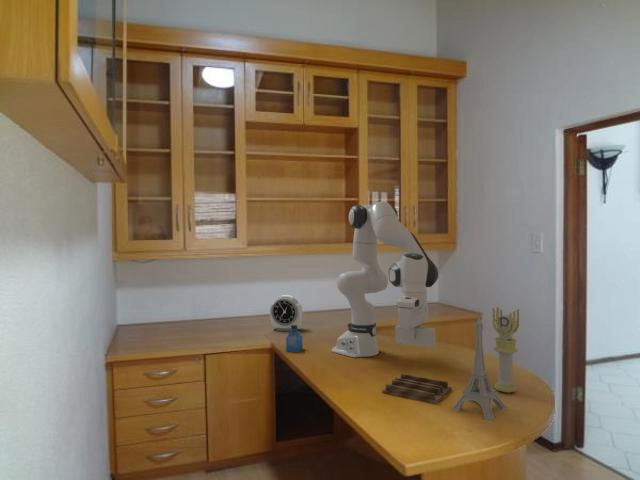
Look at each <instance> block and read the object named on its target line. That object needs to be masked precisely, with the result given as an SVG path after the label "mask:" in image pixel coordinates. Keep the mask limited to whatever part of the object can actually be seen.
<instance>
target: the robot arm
mask: <svg viewBox="0 0 640 480" xmlns="http://www.w3.org/2000/svg"><path fill="white" fill-rule="evenodd" d="M348 222H349V225H350V226H351V227H352V228H353V229H354V234H353V238H352V239H353V244H352V257H353V259H354V260H355V262H357V263H359V264H360V265H361V270H353V271H352V270H350V271H345V272H343V273H340V275H338V276H337V280H336V286H337V289H338V291H339V293H341V294H342V295H344V296H345V298H346V299H347V300H348V303H349V306H350V313H351V317H350V318H351V322H349V323H348V324H347V325H346V328H348V329H347V330H346V331H345V332H343V334H341V335H340V336H338V338H337V340H336V345H335V346H334V347H331V352H332V353H335V354H340V355H343V356H348V357H351V358H362V357H365V358H366V357H373V356H377V355H378V354H379V349H378V344H377V337H376V335H377V334H376V333H377V323H376V308H375V306H374V305H373V303H371V302H370V301H368V300H367V299H366V296H365V295H366V294H376V293H380V292H383V291H385V290H386V289H387V287H388V285H389V283H390V284H392V286H393V287H396V288H401V294H400V297H399V298H398V299H397V301H396V307H398V308H397V318H398V320H397V321H398V322H397V323H398V325H399V327H400V329H403V330H408V332H409V338H410V339H415V338H416V337H415V336H416V334H415V333H414V330H415V327H422V324H424V323H426V322H427V321H428V320H429V317H430V315H429V305H428V294H427V293H428V290H427V288H431V287H432V286H434V285H435V283H436V282H437V281H438V279H439V270H438V267H437V266H436V264H435V263H434V262H433V261H432V260H431V258H430V257H429V255H427V253H426V251H425V250H424V248H423V247H422V245H421V243H420V242H419V240H418V239H417V237H416V236H415V235H414V233H413V232H412V231H410V230H408V229H407V228H406V227H405V226H404V225H403V224H402V223H401V222H400V220H399V214H398V210H397V209H396V207H395V206H392V205H391V204H390V203H389V202H386V201H378V202H376V203H373V204H364V205H363V204H362V205H361V204H358V205H353V206H352V207H351V208H350V210H349V212H348ZM378 241H379V242H380V243H382V244H384V245H386V246H391V247H396V248H400V249H402V250H405V251H406V252H408V253H406V254H404V255H402V257H401V259H400V260H398V261H397V262H394V263H392V264H391V265H390V267H389V268H388V275H387V273H386V272H385V271H384V270H382V269H381V266H380V265H379V262H378V255H377V254H378V252H377V251H378Z"/></svg>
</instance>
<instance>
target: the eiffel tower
mask: <svg viewBox="0 0 640 480" xmlns="http://www.w3.org/2000/svg"><path fill="white" fill-rule="evenodd" d="M483 329H484V324H483V322H482V319H481V318H480V317H477V321H476V323H475V326H474V330H475V332H476V335H475V348H474V349H475V350H474V357H473V358H474V359H473V366H472V371H470V374H471V376H470V379H469V381H468V383H467V386H466V388H465V389H464V390H462V395H461V396H460V397H459V398H458V400H457V401H456V402H455V404H453V406H452V407H451V408H450V410H452V411H455V412H458V413H459V412H460V411H462V410H463V406H464V404H465V403H466V402H472V403H473V402H477V403H478V404H479V405H480V407H481V408H482V411H483V417H482V419H484V420H486V421H491V422H493V420H495V419H496V417H495V416H494V414H493V411H492V410H493V409H492V401H493V402H494V403H495V406H496V407H495V409H498V410H502V411H505V410H507V408H508V406H506V405H505V403H504V402H503V400H502V399H501V398H500V397H499V396H498V394H497V393H496V392H497V391H496V390H497V389H495V388H494V389H493V387H492V384H491V383H490V380H489V377H488V373H489V372H488V371H487V369H486V364H485V356H484V345H483Z"/></svg>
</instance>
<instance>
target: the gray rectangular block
mask: <svg viewBox="0 0 640 480" xmlns="http://www.w3.org/2000/svg"><path fill="white" fill-rule="evenodd" d="M394 328H395V329H394V337H395V338H394V343H395V344H399V345H400V344H401V345H409V346H417V347H418V346H419V347H425V348H435V347H436V345H437V343H436V339H437V338H436V336H437V335H436V328H433V327H431V328H430V327H423V326H421V327H415V330H414V333H415V334H416V336H415V337H416V338H415V339H410V338H409V332H408V330H403V329H400V327H399V324H397V325H395V326H394Z"/></svg>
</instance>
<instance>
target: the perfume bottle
mask: <svg viewBox="0 0 640 480" xmlns="http://www.w3.org/2000/svg"><path fill="white" fill-rule="evenodd" d="M298 330H299V327H298V328H297V325H291V331H289V333H288V334H287V336H286V338H285V339H286V340H285V347H286V348H285V350H286V352H289V353H290V352H291V353H292V352H293V353H300V351H302V350H303V335H302V333H301V332H300V331H298Z"/></svg>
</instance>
